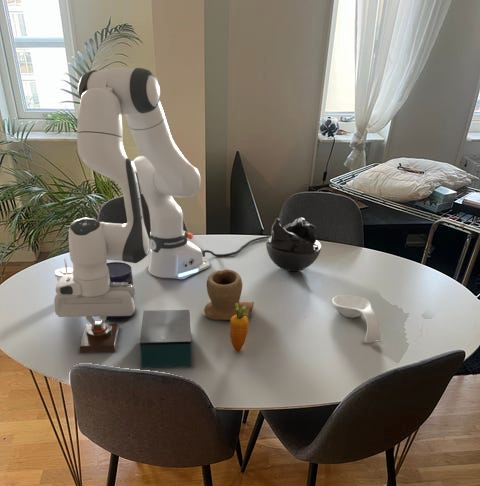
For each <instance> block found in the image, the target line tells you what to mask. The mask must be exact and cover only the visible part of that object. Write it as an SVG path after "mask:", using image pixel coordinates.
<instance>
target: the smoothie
mask: <svg viewBox="0 0 480 486" xmlns="http://www.w3.org/2000/svg"><path fill="white" fill-rule="evenodd" d="M63 260H64V261H63V262H64V267H59V268H58V269H55V271H54V277H55V278H56V279H57V282H58V281H59V279H60V278H61V277H63V276H66V275H70V274H73V267H70V266H68V263H67V258H63Z"/></svg>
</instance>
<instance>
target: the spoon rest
mask: <svg viewBox="0 0 480 486" xmlns="http://www.w3.org/2000/svg"><path fill="white" fill-rule="evenodd" d="M331 303H332V305H333V306H332V307H334V309H335V310H336V311H337V312H338V313H340V314H341V315H342V316H343V317H346V318H351V319H353V318H358V317H361V316H363V317H364V319H365V323H366V333H365V338H364V343H365V344H370V343H371V344H372V343H379V342H381V337H382V336H381V330H380V329H381V328H380V324H379V322H378V319H377V316H376V314H375V311H374V310H373V308H372V303H371V302H370V301H369V300H368V299H366V298H364V297H362V296H359V295H355V294H340V295H339V294H338V295H336V296H333V298H332V299H331ZM352 307H353V308H352ZM376 340H379V341H376Z"/></svg>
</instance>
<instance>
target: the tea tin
mask: <svg viewBox="0 0 480 486" xmlns="http://www.w3.org/2000/svg"><path fill="white" fill-rule="evenodd" d="M139 346H140V360H141V369H160V368H164V369H165V368H191V367H192V343H191V344H164V345H140V344H139Z"/></svg>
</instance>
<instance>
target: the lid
mask: <svg viewBox="0 0 480 486" xmlns="http://www.w3.org/2000/svg"><path fill="white" fill-rule="evenodd" d="M190 311H191V310H190V309H157V310H155V309H154V310H153V309H151V310H148V309H147V310H142V317H141V327H140V334H139V335H140V336H139V346H140V345H164V344H191V345H192V333H191V312H190Z"/></svg>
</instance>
